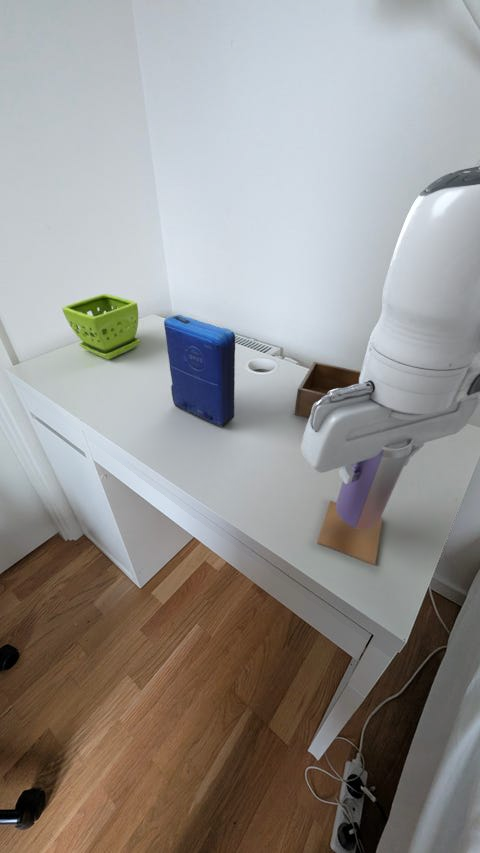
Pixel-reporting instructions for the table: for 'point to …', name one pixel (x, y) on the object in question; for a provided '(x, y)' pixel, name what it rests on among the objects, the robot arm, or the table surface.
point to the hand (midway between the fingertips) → (372, 471)
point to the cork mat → (349, 537)
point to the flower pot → (104, 324)
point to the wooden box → (322, 385)
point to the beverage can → (372, 486)
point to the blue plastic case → (201, 368)
